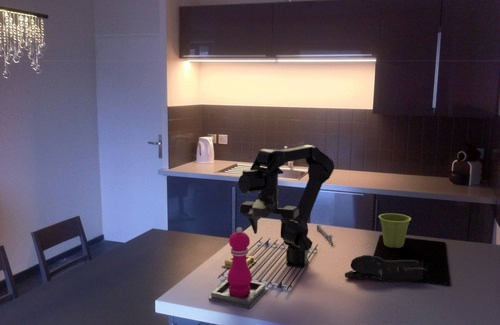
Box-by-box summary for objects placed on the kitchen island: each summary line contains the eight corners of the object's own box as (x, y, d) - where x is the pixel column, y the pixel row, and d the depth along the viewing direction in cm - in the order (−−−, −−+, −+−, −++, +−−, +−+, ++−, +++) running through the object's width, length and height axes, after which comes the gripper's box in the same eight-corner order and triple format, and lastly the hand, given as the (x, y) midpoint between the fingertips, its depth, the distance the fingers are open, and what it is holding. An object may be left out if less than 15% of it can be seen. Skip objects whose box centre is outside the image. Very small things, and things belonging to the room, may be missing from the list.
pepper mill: (253, 296, 130) (253, 230, 126) (228, 298, 129) (228, 231, 125) (249, 286, 137) (249, 223, 133) (226, 287, 136) (225, 224, 132)
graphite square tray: (267, 289, 136) (267, 283, 135) (249, 308, 124) (249, 301, 124) (229, 282, 141) (229, 276, 141) (208, 299, 129) (208, 292, 129)
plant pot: (412, 243, 176) (414, 215, 174) (405, 252, 166) (406, 223, 164) (382, 238, 182) (383, 211, 180) (373, 246, 172) (374, 218, 170)
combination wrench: (316, 222, 193) (330, 236, 173) (319, 222, 193) (333, 236, 174) (316, 231, 194) (330, 246, 174) (319, 231, 194) (333, 245, 174)
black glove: (426, 284, 141) (428, 259, 140) (347, 283, 140) (349, 259, 139) (417, 275, 148) (419, 252, 147) (342, 275, 147) (343, 251, 145)
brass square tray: (256, 261, 158) (256, 256, 157) (245, 271, 149) (245, 265, 149) (233, 257, 161) (233, 252, 161) (222, 266, 153) (222, 260, 153)
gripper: (231, 191, 140) (231, 239, 142) (287, 197, 132) (287, 247, 135) (246, 184, 150) (246, 229, 152) (299, 189, 142) (298, 236, 145)
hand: (268, 235), depth 146 cm, fingers open, 9 cm apart
